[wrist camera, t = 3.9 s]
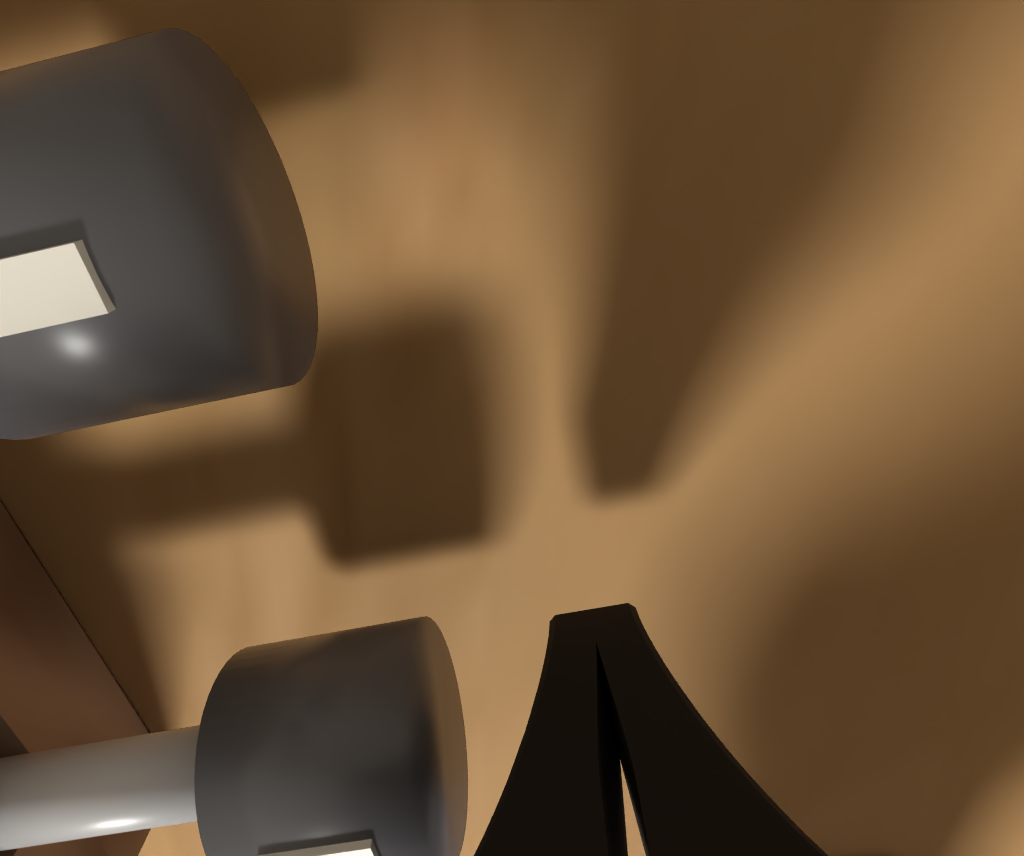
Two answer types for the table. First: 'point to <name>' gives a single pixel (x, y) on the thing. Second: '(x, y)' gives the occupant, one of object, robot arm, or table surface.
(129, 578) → the table surface
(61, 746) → the mount
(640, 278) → the table surface
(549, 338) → the table surface
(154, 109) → the knob
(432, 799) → the knob
